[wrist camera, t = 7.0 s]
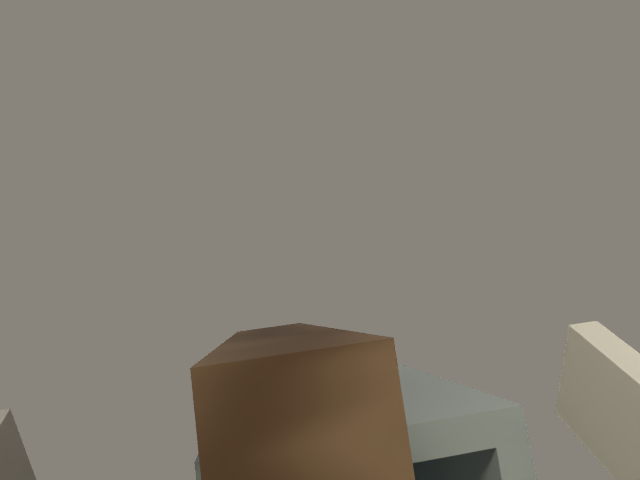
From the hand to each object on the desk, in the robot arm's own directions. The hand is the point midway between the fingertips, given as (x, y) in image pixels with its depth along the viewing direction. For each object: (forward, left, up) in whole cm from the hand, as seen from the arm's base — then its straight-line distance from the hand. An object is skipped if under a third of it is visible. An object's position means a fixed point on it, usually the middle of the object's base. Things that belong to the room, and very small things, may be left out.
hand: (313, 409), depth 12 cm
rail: (-1, +6, -2) cm, 7 cm away
